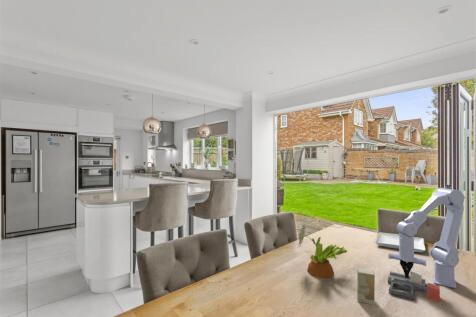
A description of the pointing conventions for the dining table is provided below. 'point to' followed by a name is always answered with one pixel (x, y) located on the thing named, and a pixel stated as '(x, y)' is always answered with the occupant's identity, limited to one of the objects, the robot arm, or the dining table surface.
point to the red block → (433, 292)
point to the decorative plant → (321, 257)
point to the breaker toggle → (416, 277)
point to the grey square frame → (400, 293)
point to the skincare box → (365, 285)
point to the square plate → (393, 241)
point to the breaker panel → (406, 281)
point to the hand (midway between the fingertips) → (407, 277)
